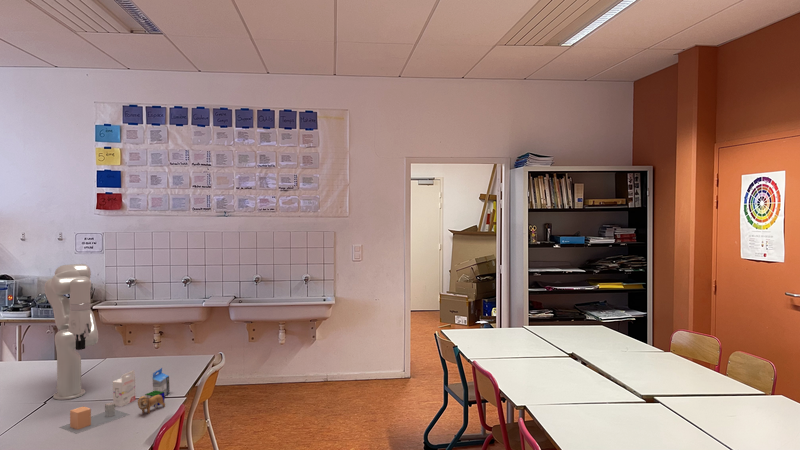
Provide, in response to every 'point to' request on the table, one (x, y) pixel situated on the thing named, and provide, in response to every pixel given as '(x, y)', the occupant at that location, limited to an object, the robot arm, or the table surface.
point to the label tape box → (161, 382)
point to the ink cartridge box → (124, 389)
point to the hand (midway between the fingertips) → (80, 349)
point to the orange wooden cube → (80, 417)
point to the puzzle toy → (154, 395)
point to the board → (96, 421)
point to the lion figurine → (150, 402)
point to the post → (109, 409)
